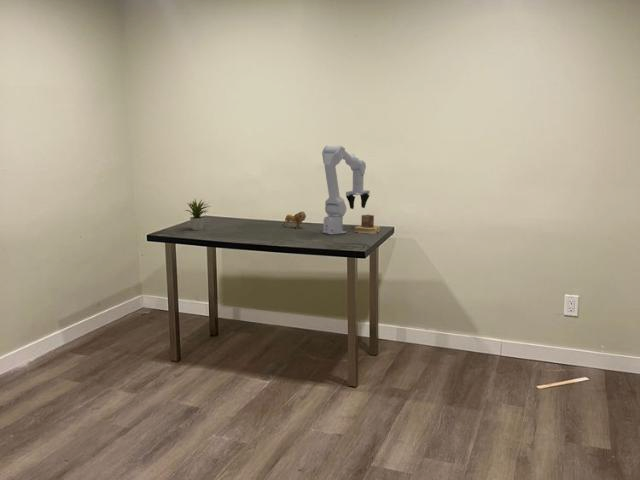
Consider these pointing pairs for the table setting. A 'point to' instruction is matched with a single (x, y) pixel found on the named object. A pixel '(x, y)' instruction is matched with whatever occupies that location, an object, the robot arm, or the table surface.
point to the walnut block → (367, 221)
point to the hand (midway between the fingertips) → (357, 208)
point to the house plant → (197, 215)
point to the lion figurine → (295, 219)
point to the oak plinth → (367, 229)
